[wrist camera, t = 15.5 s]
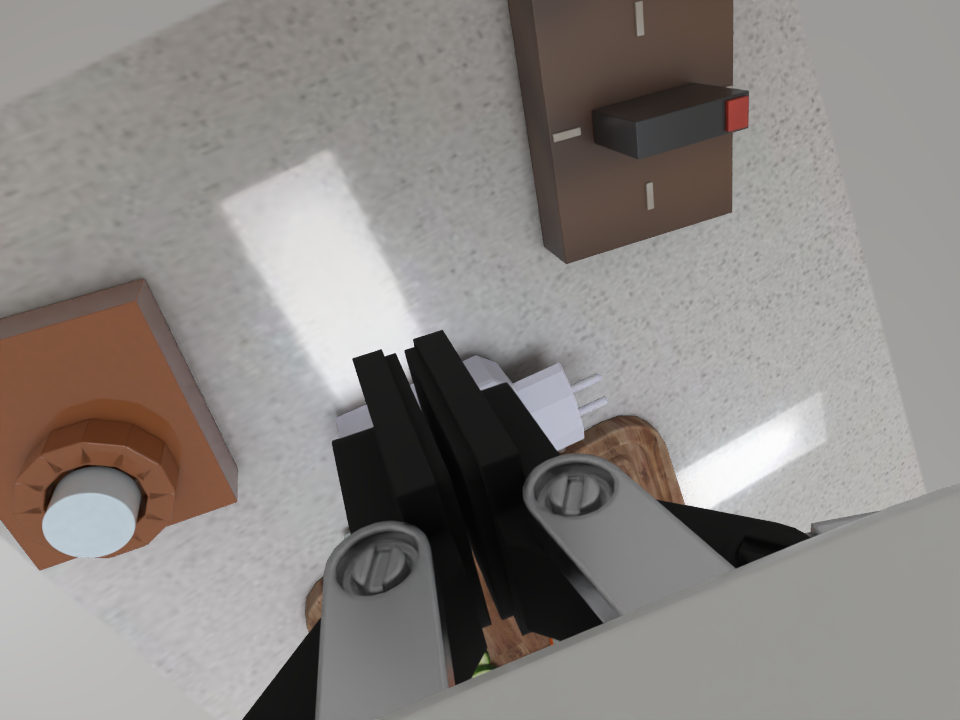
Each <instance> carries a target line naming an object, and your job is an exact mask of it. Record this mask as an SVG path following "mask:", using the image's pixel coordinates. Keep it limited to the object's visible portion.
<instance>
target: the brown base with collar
mask: <svg viewBox="0 0 960 720" xmlns="http://www.w3.org/2000/svg"><path fill="white" fill-rule="evenodd" d="M93 466H103V467H109V468H114V469H117V470H119V471H121V472H124V473H125V474H127V475H128V476H130V477H131V478H132V479H133V480H134V481H135V482H136V484H137V485H138V487H139V489H140V493H141V504H140V508H139V513H138V518H137V522H136V527H135V531H134V534H133V536H132V538H131V539H130V540H129V542H128V543H127V544H126V545H124V546H123V547H122V548H121V549H119V550H117V551H116V552H114V553H111V554H109V555H105V556H101V557H95V558H110V557H115V556H118V555H120V554H123V553H126V552H129V551H132V550H135V549H138V548H140V547H143V546H146V545H148V544H149V543H150V542H151V541H152V540H153V539H154V538H155V537H156V536H157V535H158V534H159V533H160V532H161V531H162V530H163V529H164V528H165V527H167V526H170V525H173V524H175V523H178V522H181V521H184V520H187V519H190V518H193V517H196V516H198V515H201V514H204V513H207V512H210V511H213V510H216V509H219V508H221V507H224V506H227V505H230V504H233V503H236V502H237V492H238V469H237V467H236V464H235V462H234V460H233V458H232V456H231V454H230V452H229V450H228V448H227V446H226V444H225V442H224V440H223V438H222V436H221V434H220V432H219V430H218V428H217V426H216V424H215V422H214V419H213V417H212V415H211V413H210V411H209V409H208V407H207V405H206V403H205V401H204V399H203V397H202V395H201V393H200V391H199V389H198V387H197V385H196V383H195V381H194V379H193V377H192V374H191V372H190V370H189V368H188V366H187V364H186V362H185V360H184V358H183V356H182V354H181V352H180V350H179V348H178V346H177V344H176V342H175V340H174V338H173V336H172V334H171V332H170V329H169V327H168V325H167V323H166V321H165V319H164V317H163V315H162V313H161V311H160V309H159V307H158V305H157V303H156V301H155V299H154V297H153V295H152V293H151V291H150V289H149V287H148V285H147V282H146V280H145V279H140V280H136V281H133V282H129V283H126V284H122V285H119V286H115V287H111V288H108V289H104V290H101V291H97V292H94V293H90V294H87V295H83V296H80V297H76V298H73V299H69V300H65V301H62V302H58V303H55V304H51V305H48V306H44V307H41V308H37V309H34V310H30V311H27V312H23V313H19V314H16V315H12V316H9V317H5V318H2V319H0V520H1V521H2V522H3V524H4V525H5V526H6V527H7V529H8V530H9V531H10V533H11V534H12V535H13V537H14V538H15V539H16V541H17V542H18V543H19V544H20V546H21V547H22V548H23V550H24V551H25V552H26V554H27V555H28V556H29V557H30V559H31V560H32V561H33V563H34V564H35V565H36V567H37V568H38V569H39V570H43V569H46V568H49V567H52V566H54V565H57V564H60V563H63V562H66V561H69V560H72V559H75V558H78V557H74V556H70V555H67V554H64V553H62V552H60V551H58V550H57V549H55V548H54V547H53V546H52V545H50V543H49V542H48V541H47V540H46V538H45V536H44V534H43V530H42V521H43V517H44V515H45V512H46V510H47V507H48V505H49V502H50V500H51V497H52V495H53V492H54V490H55V487H56V486H57V484H58V483H59V482H60V480H61V479H63V478H64V477H65V476H66V475H68V474H69V473H71V472H73V471H76V470H78V469H81V468H85V467H93Z"/></svg>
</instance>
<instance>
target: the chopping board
mask: <svg viewBox="0 0 960 720" xmlns="http://www.w3.org/2000/svg"><path fill="white" fill-rule="evenodd" d="M558 453H559V454H560V455H566V454H574V453H580V454H592V455H595V456H599V457H602V458H605V459H607V460H608V461H610V462H611V463H613V464H615V465H616V466H617V467H618V468H620V469H621V470H622V471H623V472H624V473H625V474H627V475H628V476H629V477H630V478H631V479H632V480H634V481H635V482H636V483H637V484H638V485H639V486H641V487H642V488H643V489H644V490H645V491H646V492H648V493H649V494H650V495H651V496H652V497H653V498H654V499H657V500H662V501H667V502H672V503H677V504H683V505H685V503H684V500H683V497H682V494H681V491H680V488H679V484H678V481H677V478H676V475H675V472H674V469H673V465H672V462H671V459H670V456H669V453H668V450H667V447H666V444H665V442H664V440H663V439H662V437H661V436H660V434H659V433H658V432H657V431H656V430H655V429H654V428H653V427H652V426H651V425H650V424H649V423H648V422H647V421H645V420H643V419H640V418H638V417H636V416H617V417H614V418H612V419H609V420H606V421H603V422H601V423H599V424H597V425H595V426H593V427H592V428H590V429H588V430H586V431H584V439H582V440H580V441H578V442H575V443H573V444H571V445H569V446H567V447H565V448H563V449H561V450H558ZM349 535H350V532H349V533H347V534H345V535H344V539H345V538H346V537H348V536H349ZM472 554H473V552H472ZM473 557H474V554H473ZM474 561H475V565H476V568H477V572H478V575H479V579H480V583H481V586H482V590H483V593H484V597H485V601H486V604H487V608H488V612H489V615H490V619H491V623H492V625H490V626H488V627H485V628H483V629H482V630H483V633H484V637H485V640H486V643H487V647H488V648H487V649H486V651H485V653H484V655H483V657H482V659H481V661H480V663H479V665H478V667H477V669H476V671H475V672H474V674H473V676H472V678H474V677H477V676H479V675H481V674H484V673H486V672H489V671H491V670H493V669H496V668H498V667H501V666H503V665H505V664H508V663H510V662H512V661H515V660H517V659H520V658H522V657H524V656H527V655H529V654H532V653H534V652H536V651H539V650H541V649H543V648H546V647H548V646H551V645H553V640H552V638H549V637H546V636H543V635H540V634H537V633H533V632H531V633H529V634H526V635H524V636H522V634H521V632H520V630H519V627H518V625H517V623H516V621H515V618H514V616H512V617H510V618H507V619H505V620H501V618H500V616H499V613H498V611H497V609H496V606H495V604H494V602H493V599H492V597H491V595H490V592H489V590H488V587H487V585H486V583H485V580H484V578H483V576H482V573H481V571H480V569H479V566H478V564H477V562H476V559H475V557H474ZM323 578H324V577H323ZM323 578H322V579H320V580H319V581H318V582H316V584H315V585H314V587H313V588H312V590H311V592H310V593H309V595H308V596H307V600H306V610H305V614H306V624H307V629H308V631H309V632H310V631H311V629H312V628H313V627H314V626H315V624H316V623H317V622H318V620H319V619H320V618H321V612H322V595H323Z"/></svg>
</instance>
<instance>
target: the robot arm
mask: <svg viewBox="0 0 960 720" xmlns="http://www.w3.org/2000/svg"><path fill="white" fill-rule="evenodd" d="M413 342H414V347H413V348H410V349H407V350H405V355H406V359H407V363H408V366H409V370H410V373H411V376H412V380H413V383H414V387H415V390H416V394H417V397H418V401H419V404H420V407H419V404H418V402H417V400H416V398H415V395H414V393H413V391H412V389H411V387H410V384H409V382H408V380H407V378H406V375H405V373H404V371H403V369H402V366H401V364H400V362H399V360H398V357H397V355H396V353H394V354H391V355H388V356H384V354H383V352H382V349H381V350H378V351H375V352H371V353H368V354H365V355H362V356H359V357H356V358H353V359H352V360H353V363H354V366H355V369H356V372H357V376H358V379H359V382H360V385H361V388H362V391H363V395H364V398H365V401H366V404H367V407H368V411H369V414H370V417H371V420H372V423H373V427H372V428H369V429H366V430H363V431H360V432H357V433H354V434H351V435H348V436H345V437H342V438H339V439H336V440H333V441H332V446H333V451H334V456H335V461H336V466H337V471H338V476H339V481H340V486H341V491H342V496H343V500H344V505H345V510H346V515H347V520H348V525H349V530H350V535H349V536H348V537H346V538H345V539H344V540H343V541H342V542H341V543H340V544H339V545H338V546H337V547H336V548H335V549H334V551H333V552H332V554H331V556H330V557H329V559H328V560H327V563H326V567H325V571H324V578H323V595H322V612H321V618H320V619H319V620H318V622H317V623H316V624H315V626H314V627H313V628H312V629H311V631H310V632H309V633H308V635H307V636H306V637H305V639H304V640H303V641H302V643H301V644H300V645H299V646H298V648H297V649H296V650H295V652H294V653H293V654H292V656H291V657H290V658H289V659H288V661H287V662H286V663H285V665H284V666H283V667H282V669H281V670H280V671H279V673H278V674H277V675H276V676H275V678H274V679H273V680H272V682H271V683H270V684H269V686H268V687H267V688H266V689H265V691H264V692H263V693H262V695H261V696H260V697H259V699H258V700H257V701H256V703H255V704H254V705H253V706H252V708H251V709H250V710H249V712H248V713H247V714H246V716H245V717H244V718H243V719H242V720H960V484H957V485H953V486H950V487H946V488H943V489H940V490H937V491H934V492H932V493H929V494H926V495H923V496H920V497H918V498H915V499H912V500H909V501H906V502H903V503H900V504H897V505H894V506H891V507H889V508H886V509H884V510H881V511H876V512H870V513H865V514H860V515H854V516H849V517H843V518H838V519H833V520H827V521H822V522H816V523H811V532H809V533H803V532H801V531H799V530H798V529H796V528H793V527H790V526H786V525H783V524H780V523H776V522H771V521H766V520H760V519H755V518H750V517H745V516H740V515H734V514H729V513H724V512H719V511H714V510H708V509H703V508H698V507H693V506H688V505H683V504H677V503H672V502H667V501H662V500H657V499H654V498H653V497H652V496H651V495H650V494H649V493H648V492H646V491H645V490H644V489H643V488H642V487H641V486H639V485H638V484H637V483H636V482H635V481H634V480H632V479H631V478H630V477H629V476H628V475H627V474H625V473H624V472H623V471H622V470H621V469H620V468H618V467H617V466H616V465H615V464H613V463H611V462H610V461H608V460H607V459H605V458H602V457H599V456H595V455H592V454H580V453H574V454H566V455H560V454H559V453H558V451H557V450H556V449H555V447H554V446H553V444H552V443H551V442H550V440H549V439H548V437H547V436H546V435H545V433H544V432H543V430H542V429H541V428H540V426H539V425H538V423H537V422H536V421H535V419H534V418H533V416H532V415H531V414H530V412H529V411H528V409H527V408H526V407H525V405H524V404H523V403H522V401H521V400H520V398H519V397H518V396H517V394H516V393H515V391H514V390H513V389H512V387H511V386H510V385H509V384H508V383H507V382H504V383H501V384H498V385H495V386H492V387H489V388H486V389H484V390H480V389H479V387H478V385H477V384H476V382H475V381H474V379H473V377H472V376H471V374H470V373H469V371H468V370H467V368H466V366H465V365H464V363H463V362H462V360H461V358H460V357H459V355H458V354H457V352H456V350H455V349H454V347H453V346H452V344H451V342H450V341H449V339H448V338H447V336H446V335H445V333H444V331H443V330H440V331H437V332H434V333H431V334H428V335H425V336H422V337H418V338H415V339H413ZM420 408H421V409H420ZM472 552H473V554H474V557H475V559H476V562H477V564H478V566H479V569H480V571H481V573H482V576H483V578H484V580H485V583H486V585H487V587H488V590H489V592H490V595H491V597H492V599H493V602H494V604H495V606H496V609H497V611H498V613H499V616H500V618H501V620H505V619H507V618H510V617H512V616H514V618H515V621H516V623H517V625H518V627H519V630H520V632H521V634H522V636H524V635H526V634H529V633H531V632H533V633H537V634H540V635H543V636H546V637H549V638H552V640H553V645H551V646H548V647H546V648H543V649H541V650H539V651H536V652H534V653H532V654H529V655H527V656H524V657H522V658H520V659H517V660H515V661H512V662H510V663H508V664H505V665H503V666H501V667H498V668H496V669H493V670H491V671H489V672H486V673H484V674H481V675H479V676H477V677H474V678H472V676H473V674H474V672H475V671H476V669H477V667H478V665H479V663H480V661H481V659H482V657H483V655H484V653H485V651H486V649H487V648H488V647H487V643H486V640H485V637H484V633H483V630H482V629H483V628H485V627H488V626H490V625H492V623H491V619H490V615H489V612H488V608H487V604H486V601H485V597H484V593H483V590H482V586H481V583H480V579H479V575H478V572H477V568H476V565H475V561H474V557H473V554H472Z"/></svg>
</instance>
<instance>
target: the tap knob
mask: <svg viewBox="0 0 960 720" xmlns="http://www.w3.org/2000/svg"><path fill="white" fill-rule="evenodd" d="M748 114H749V91H746V90H740V89H733V88H727V87H720V86H714V85H707V84H700V83H694V82H693V83H690V84H686V85H682V86H679V87H675V88H671V89H668V90H664V91H660V92H657V93H653V94H649V95H646V96H642V97H638V98H634V99H631V100H627V101H623V102H620V103H616V104H612V105H609V106H605V107H601V108H598V109H594V110H592V117H593V127H594V137H595V144H597V145H600V146H603V147H605V148H608V149H611V150H614V151H616V152H619V153H622V154H624V155H627V156H630V157H632V158H635V159H638V160H639V159H643V158H646V157H650V156H653V155H657V154H660V153H663V152H667V151H670V150H674V149H677V148H681V147H684V146H688V145H691V144H695V143H698V142H701V141H705V140H708V139H712V138H715V137H719V136H722V135H726V134H729V133H732V132H736V131H739V130H743V129H746V128H748Z"/></svg>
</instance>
